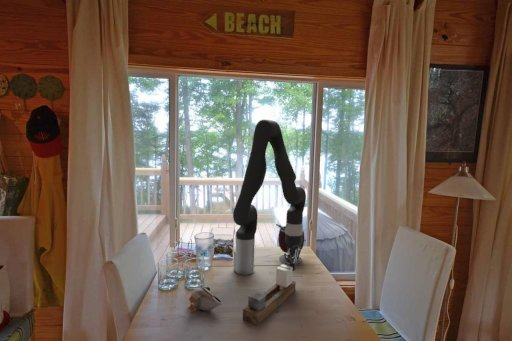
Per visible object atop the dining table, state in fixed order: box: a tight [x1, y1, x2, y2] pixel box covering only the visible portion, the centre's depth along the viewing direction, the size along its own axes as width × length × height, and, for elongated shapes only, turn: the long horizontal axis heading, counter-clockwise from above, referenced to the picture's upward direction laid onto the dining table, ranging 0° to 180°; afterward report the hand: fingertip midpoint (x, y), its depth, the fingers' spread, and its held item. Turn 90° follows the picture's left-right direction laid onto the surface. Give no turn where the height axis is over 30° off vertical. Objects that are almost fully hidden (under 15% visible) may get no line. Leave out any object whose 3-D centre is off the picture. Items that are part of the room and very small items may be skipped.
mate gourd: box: [275, 223, 305, 265], centre depth 160 cm, size 16×14×20 cm
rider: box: [275, 263, 294, 290], centre depth 124 cm, size 5×5×9 cm
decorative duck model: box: [188, 286, 222, 313], centre depth 114 cm, size 15×8×15 cm
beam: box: [242, 280, 297, 326], centre depth 117 cm, size 6×30×8 cm, turn 146°
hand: (292, 270), depth 130 cm, fingers closed
